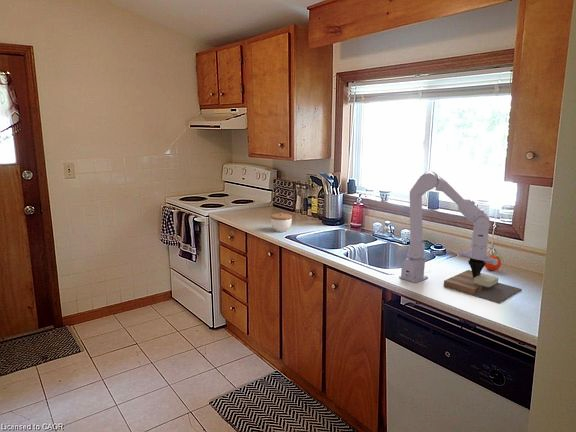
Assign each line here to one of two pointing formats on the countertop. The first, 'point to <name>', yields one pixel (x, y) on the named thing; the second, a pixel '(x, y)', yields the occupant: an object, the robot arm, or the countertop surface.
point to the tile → (485, 280)
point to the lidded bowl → (281, 222)
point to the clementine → (491, 266)
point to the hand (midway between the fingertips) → (475, 278)
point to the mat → (497, 292)
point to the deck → (464, 283)
